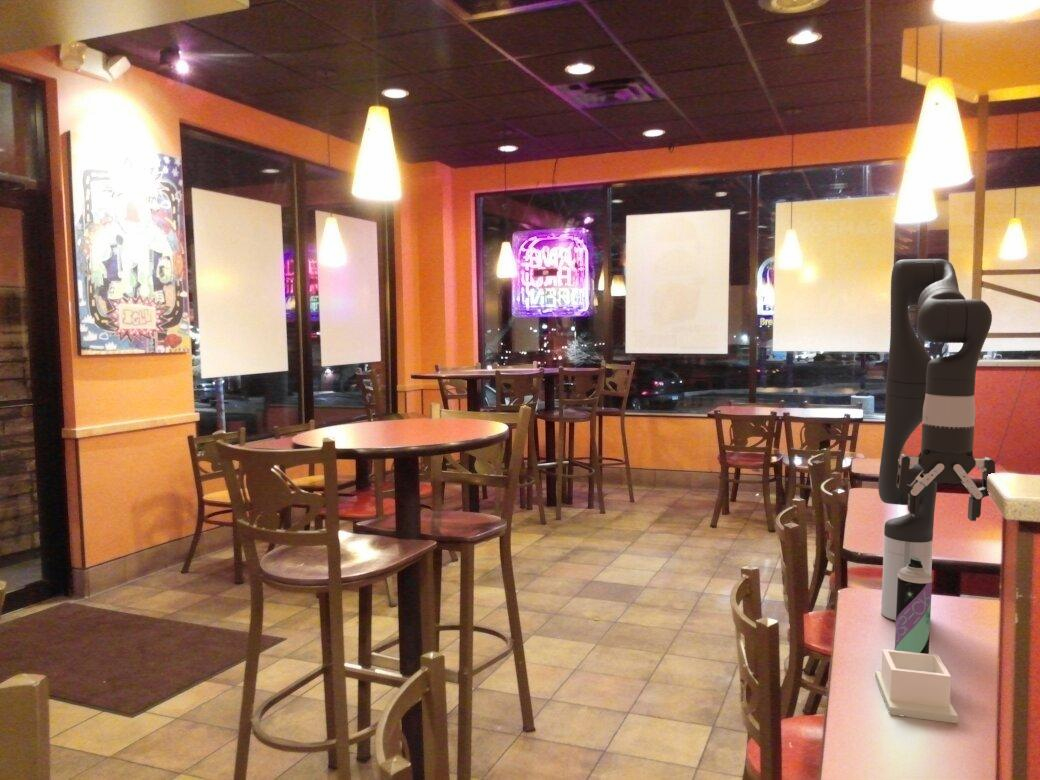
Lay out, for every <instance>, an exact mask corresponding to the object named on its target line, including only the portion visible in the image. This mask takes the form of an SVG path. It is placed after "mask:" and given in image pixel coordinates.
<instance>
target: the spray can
mask: <svg viewBox="0 0 1040 780" xmlns="http://www.w3.org/2000/svg"><path fill="white" fill-rule="evenodd" d="M932 585H933V578H932V572H931V573H930V572H928V571H927V570H925V569H924V566H922V564H921V560H920V559H918V558H911V559H910V563H909V564H907V566H906V567H904V568H901V569H899V573H898V583H897V607H896V621H895V633H894V634H895V635H894V650H896V651H905V652H915V653H924V654H930V634H931V614H932V613H931V612H932V611H931V610H932V594H933V593H932V592H933V589H932V588H933V586H932Z"/></svg>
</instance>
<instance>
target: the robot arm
mask: <svg viewBox="0 0 1040 780" xmlns="http://www.w3.org/2000/svg"><path fill="white" fill-rule="evenodd" d="M959 288H960V287H959V282H958V278H957V275H956V269H955V267H954V265H953V264H952V263H951V262H950V261H949V260H946V259H943V258H919V259H918V258H917V259H913V258H909V259H899V260H897V261H896V262H895V263H894V265H893V267H892V271H891V277H890V332H889V333H890V334H889V337H890V339H889V352H888V362H887V371H886V381H885V382H886V386H885V408H884V409H885V411H884V413H885V415H884V434H883V441H882V449H881V456H880V466H879V473H878V484H877V486H878V487H877V488H878V495H879V498H880V501H882V503H884V504H890V505H901V506H907V511H908V513H906V514H905V515H901V516H898V517H894V518H890V519H888V520H887V521H886V522H885V523H884V527H883V529H884V530H883V532H884V533H883V554H882V555H883V557H882V581H881V583H882V584H881V602H880V603H881V607H880V613H881V615H882V616H883V617H885V618H887V619H889V620H893V621H895V622H896V607H897V583H898V573H899V569H901V568H904V567H906V566H907V564H909V563H910V559H911V558H918V559H920V560H921V564H922V566H924V569H925V570H927V571H928V572H930V573H931V574H932V567H933V566H932V565H933V546H934V545H933V543H934V541H933V540H934V524H935V507H936V502H937V501H936V500H937V491H938V484H943V483H944V484H945V483H949V484H952V485H957V484H959V483H961V484H962V485H963V486H964V487H965V488H966V490H967V491H968V492H969V494H970V495H969V496H968V508H967V518H968V520H969V521H970V522H976V521H977V519H979V518H980V517H981V513H982V511H981V510H982V500H983V498H986V497H990V496H989V494H988V491H987V476H988V474H991V473H995V474H996V462H995V460H993V459H992V458H990V457H988V456H985V457H983V458H975V457H974V440H975V437H974V436H975V423H976V418H977V417H976V403H975V389H976V373H977V366H978V363H979V359H980V355H981V354H982V349H983V347H984V344H985V342H986V340H987V336H988V334H989V332H990V329H991V326H992V322H993V313H992V310H991V309H990V306H989V305H988V304H987V303H986V302H985V301H984V300H981V299H969V298H968V299H966V297H965V296H964V294H962V293H961V291H960V289H959ZM913 306H915V307H917V308H918V314H917V318H916V329H917V332H918V334H919V335H917V333H916V332H915V329H914V327H913V325H912V323H911V320H910V315H909V307H913ZM918 337H920V338H921V339H922V340H924V341H925V342H929V343H933V344H935V343H936V344H938V343H939V344H940V343H941V344H942V343H943V344H947V343H949V344H959V343H960V344H962V346H961V348H960V349H959V351H958V352H957V353H955V354H952V355H948V356H941V357H936V358H933V359H932V357H931V356H930V354H929V353H928V351H927V349H926V348H925V347H924V345H923V344H922V342H921V341H920V339H919V338H918ZM920 424H922V425H921V442H920V453H919V454H918V456H917V455H916V456H915V455H908V454H906V453H902V451H903V448H904V447H905V445H906V444H907V441H908V439H909V437H910V436H911V435H912V433H914V432H915V430H916V429H917V428H918V427H919V425H920ZM976 466H977V468H978V470H979V471H980V472H982V473H981V476H982V477H981V478H982V479H981V480H982V483H981V484H982V487H977V485H976V483H975V482H974V481H973V480H972V478H971V477H970V476H969V474H970V473H971V472H972V470H974V468H975V467H976Z"/></svg>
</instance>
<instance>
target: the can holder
mask: <svg viewBox="0 0 1040 780" xmlns="http://www.w3.org/2000/svg"><path fill="white" fill-rule="evenodd" d="M875 677H876V678H875ZM874 678H875V681H876V680H877V681H876V683H877V682H878V683H877V686H878V685H879V686H878V688H879V687H880V689H879V690H881V691H880V693H882V694H881V696H882V695H883V696H882V699H883V698H884V699H883V702H884V701H885V702H884V704H885V703H886V704H885V707H886V706H887V707H886V709H888V710H887V712H888V711H889V712H888V714H895V715H894V716H897V715H903V716H902V717H904V716H907V717H906V718H913V719H921V720H928V721H937V722H944V723H952V724H958V713H957V712H956V711H955V708H954V707H953V705H952V703H951V688H952V687H951V685H952V676H951V673H950V672H949V671H948V669H947V667H946V666H945V664H944V662H943V661H942V659H941V657H940V656H939V655H938V654H930V653H929V654H924V653H915V652H905V651H896V650H895V649H885V648H882V651H881V670H875V674H874Z"/></svg>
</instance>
